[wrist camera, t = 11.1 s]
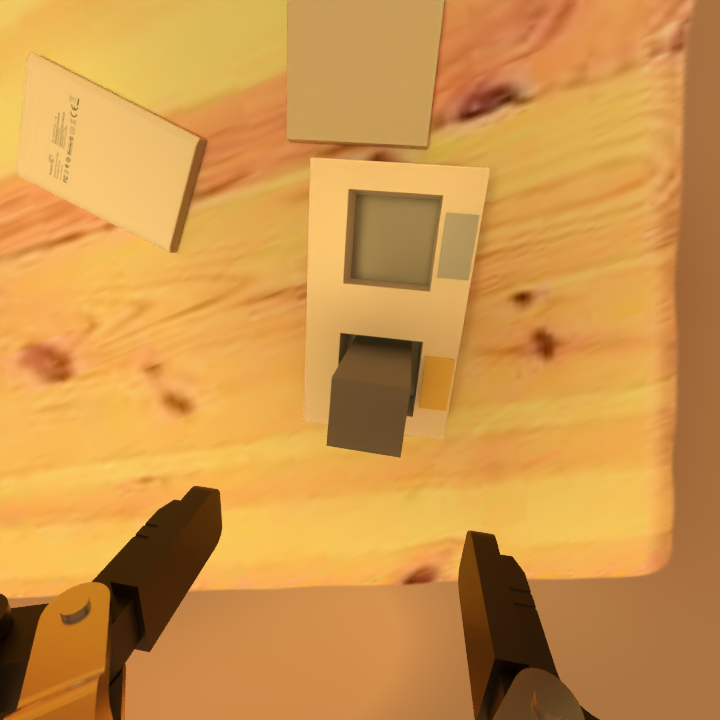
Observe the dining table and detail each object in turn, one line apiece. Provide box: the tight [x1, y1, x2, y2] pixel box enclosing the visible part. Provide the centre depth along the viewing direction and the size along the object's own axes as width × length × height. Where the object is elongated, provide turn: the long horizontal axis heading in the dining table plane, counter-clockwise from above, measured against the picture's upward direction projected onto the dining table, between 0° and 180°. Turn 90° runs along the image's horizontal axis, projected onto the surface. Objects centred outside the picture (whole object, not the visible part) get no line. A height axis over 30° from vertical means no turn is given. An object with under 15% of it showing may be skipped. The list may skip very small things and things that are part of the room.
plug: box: [327, 335, 412, 457], centre depth 23 cm, size 4×4×9 cm
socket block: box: [304, 157, 490, 440], centre depth 25 cm, size 17×10×4 cm, turn 176°
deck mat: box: [287, 0, 444, 149], centre depth 22 cm, size 9×9×1 cm
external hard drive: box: [17, 52, 207, 253], centre depth 26 cm, size 2×8×12 cm
